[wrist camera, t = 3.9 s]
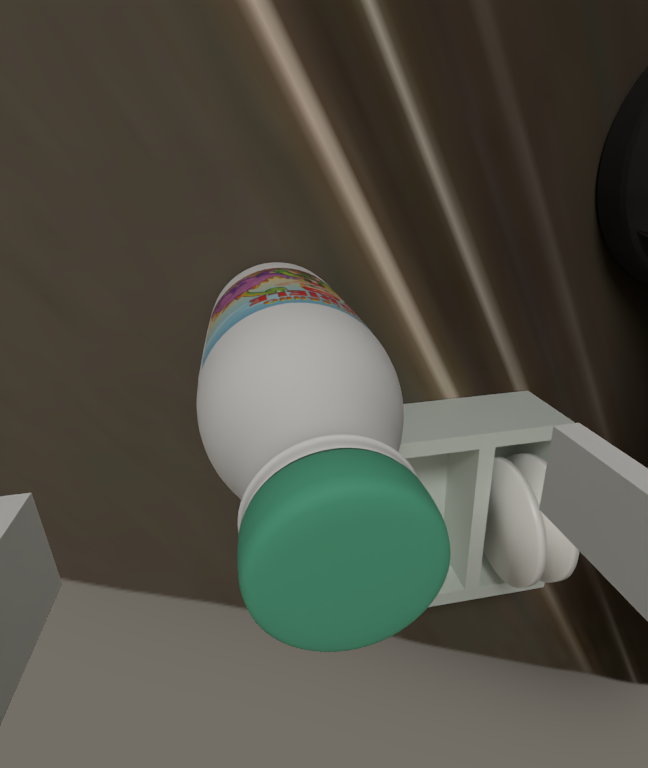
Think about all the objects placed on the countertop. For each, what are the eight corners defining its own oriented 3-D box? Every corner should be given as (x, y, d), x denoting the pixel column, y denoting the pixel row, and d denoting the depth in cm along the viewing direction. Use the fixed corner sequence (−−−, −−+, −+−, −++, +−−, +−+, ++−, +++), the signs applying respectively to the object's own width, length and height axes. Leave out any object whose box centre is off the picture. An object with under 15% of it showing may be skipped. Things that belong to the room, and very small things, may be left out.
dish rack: (268, 418, 30) (280, 503, 22) (527, 390, 32) (625, 457, 24) (283, 574, 35) (296, 691, 27) (506, 539, 37) (582, 636, 29)
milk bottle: (333, 388, 30) (480, 693, 12) (209, 384, 28) (157, 726, 10) (348, 266, 27) (573, 415, 9) (212, 254, 26) (148, 404, 7)
